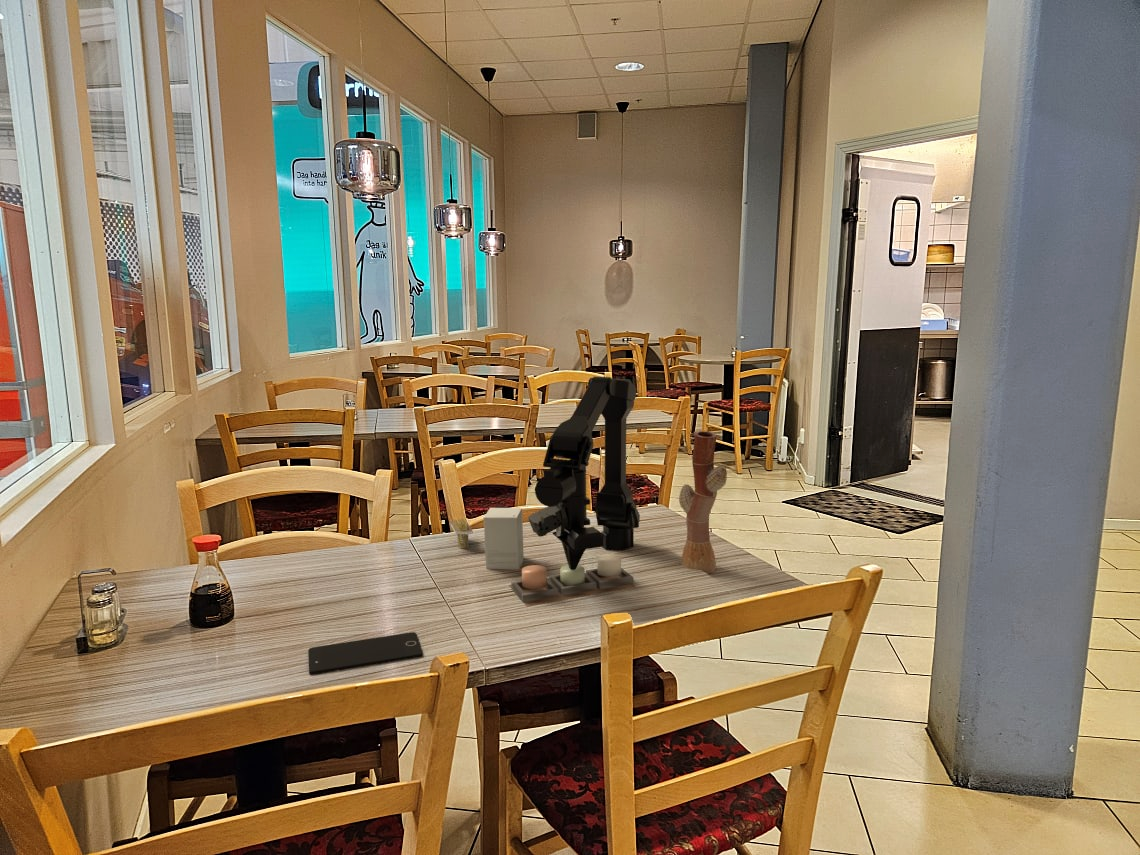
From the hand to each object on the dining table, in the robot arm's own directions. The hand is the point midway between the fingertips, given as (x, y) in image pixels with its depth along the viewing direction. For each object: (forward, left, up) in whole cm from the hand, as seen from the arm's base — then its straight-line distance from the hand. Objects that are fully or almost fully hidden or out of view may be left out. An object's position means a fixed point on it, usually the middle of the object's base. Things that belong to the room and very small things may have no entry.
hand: (572, 569), depth 154 cm
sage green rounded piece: (0, 0, -3) cm, 3 cm away
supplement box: (+9, -18, -5) cm, 21 cm away
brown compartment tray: (0, 0, -5) cm, 5 cm away
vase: (-29, 0, -5) cm, 30 cm away
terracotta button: (+8, 0, -2) cm, 8 cm away
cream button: (-8, 0, -2) cm, 8 cm away
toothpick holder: (+14, -37, -5) cm, 39 cm away
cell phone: (+42, +11, -5) cm, 43 cm away
